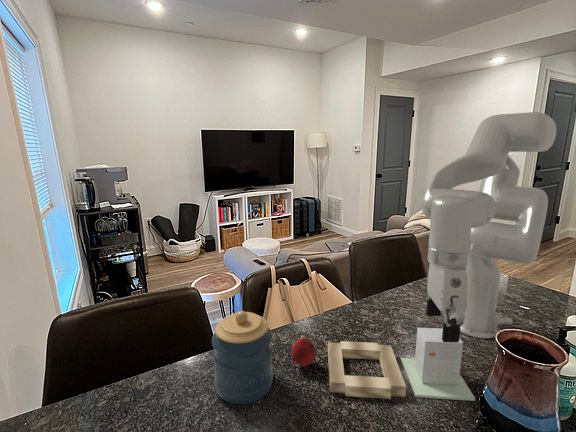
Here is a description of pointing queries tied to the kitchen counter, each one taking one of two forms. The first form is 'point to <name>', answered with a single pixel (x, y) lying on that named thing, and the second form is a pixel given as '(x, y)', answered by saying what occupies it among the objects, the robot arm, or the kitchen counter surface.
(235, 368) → the canister
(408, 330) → the kitchen counter surface
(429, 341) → the small box
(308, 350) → the red round piece
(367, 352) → the wooden square frame
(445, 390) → the pad
